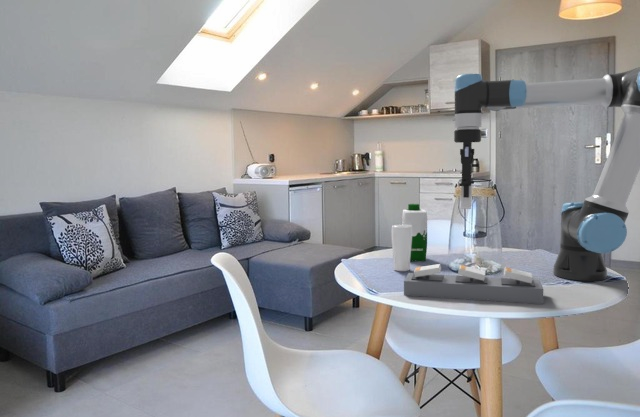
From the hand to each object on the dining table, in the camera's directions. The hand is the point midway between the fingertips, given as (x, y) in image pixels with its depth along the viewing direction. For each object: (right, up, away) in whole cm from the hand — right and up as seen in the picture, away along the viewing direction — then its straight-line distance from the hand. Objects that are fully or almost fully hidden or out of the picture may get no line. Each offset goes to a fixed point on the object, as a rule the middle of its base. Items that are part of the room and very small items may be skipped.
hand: (466, 207), depth 158 cm
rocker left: (-13, -18, -7) cm, 23 cm away
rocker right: (+10, -18, -14) cm, 25 cm away
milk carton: (-9, -19, +38) cm, 43 cm away
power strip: (-1, -24, -9) cm, 26 cm away
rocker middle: (-1, -18, -10) cm, 21 cm away
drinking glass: (-16, -21, +21) cm, 34 cm away
